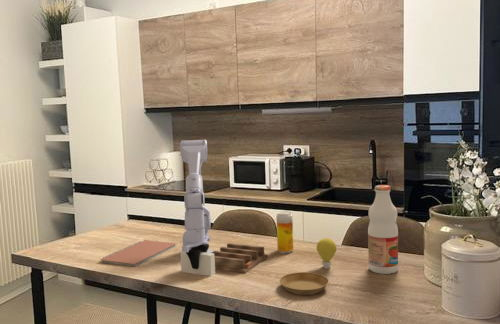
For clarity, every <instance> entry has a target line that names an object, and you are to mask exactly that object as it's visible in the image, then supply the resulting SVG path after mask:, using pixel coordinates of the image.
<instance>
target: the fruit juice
mask: <svg viewBox="0 0 500 324" xmlns="http://www.w3.org/2000/svg"><path fill="white" fill-rule="evenodd" d="M391 189H392V188H391V186H390V185H386V184H380V185H379V184H378V185H375V186H374V191H375V197H374V200H373V203H372V204H371V205H370V206H369V208H368V213H367V214H368V218H369V224H368V227H367V237H368V238H367V240H368V241H367V242H368V245H367V247H368V257H367V258H368V269H369V271H371V272H373V273H376V274H379V273H380V275H390V274H391V273H392V274H394V273H397V272H398V271H399V269H398V268H399V229H398V224H397V219H398V209H397V208H396V206H395V205H394V204H393V202H392V199H391V196H390V192H391Z"/></svg>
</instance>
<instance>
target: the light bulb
mask: <svg viewBox="0 0 500 324" xmlns="http://www.w3.org/2000/svg"><path fill="white" fill-rule="evenodd" d="M316 251H317V254H318V255H319V257H320V258H321V260H322V261H321V264H322V265H323V268H324V269H330V268H331V265H333V263H332V259H333V258H334V256H335V253H336V252H337V244H336V243H335V241H334V240H333V239H331V238H327V237H324V238H322V239H320V240H319V241H318V242H317V245H316Z"/></svg>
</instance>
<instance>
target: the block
mask: <svg viewBox="0 0 500 324" xmlns="http://www.w3.org/2000/svg"><path fill="white" fill-rule="evenodd" d="M180 268H181V269H180V271H181V272H182V273H187V274H193V275H203V276H210V277H212V276H214V275H215V274H216V269H215V256H214V253H213V252H212V253H206V252H201V253H200V257H199V268H198V269H193V268H192V265H191V262H190V259H189V257H188V255H187V254H186V252H182V250H181V251H180Z"/></svg>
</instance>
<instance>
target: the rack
mask: <svg viewBox="0 0 500 324" xmlns="http://www.w3.org/2000/svg"><path fill="white" fill-rule="evenodd" d="M212 253H214V256H215V270H220V271H228V272H235V273H241V274H246V273H248V272H249V271H250V270H252V269H254V268H255V267H256V266H257V265H259V264H261V263H262V262H263V261H264V260H266V259H268V254H267V253H266V254H265V246H259V245H251V244H250V245H248V244H241V243H238V244H237V243H230V242H229V243H226V246H220V247H219V250H213V252H212Z"/></svg>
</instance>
